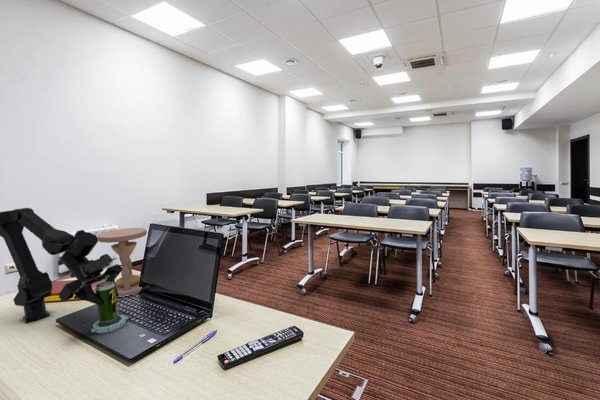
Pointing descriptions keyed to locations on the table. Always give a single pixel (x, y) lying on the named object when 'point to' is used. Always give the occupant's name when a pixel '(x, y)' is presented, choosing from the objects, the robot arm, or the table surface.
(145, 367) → the table surface
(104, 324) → the teal ring frame
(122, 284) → the hourglass
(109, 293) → the beer can
